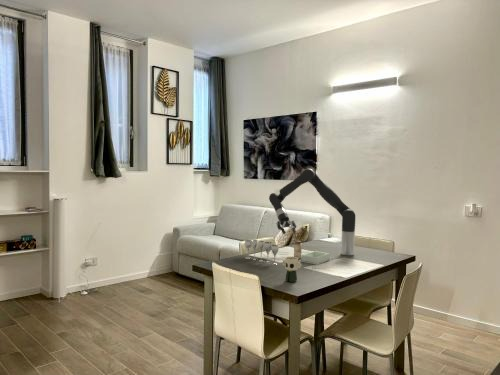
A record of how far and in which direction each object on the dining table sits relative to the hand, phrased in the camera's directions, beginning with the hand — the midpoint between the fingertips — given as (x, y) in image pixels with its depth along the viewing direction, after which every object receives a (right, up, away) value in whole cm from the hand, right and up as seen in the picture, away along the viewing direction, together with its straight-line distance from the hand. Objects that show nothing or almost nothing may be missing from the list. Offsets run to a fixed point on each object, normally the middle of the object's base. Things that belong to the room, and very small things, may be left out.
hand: (289, 233), depth 284 cm
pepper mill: (+4, -16, -9) cm, 19 cm away
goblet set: (-21, -16, -19) cm, 33 cm away
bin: (+16, -17, -15) cm, 28 cm away
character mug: (-6, -19, -66) cm, 69 cm away
